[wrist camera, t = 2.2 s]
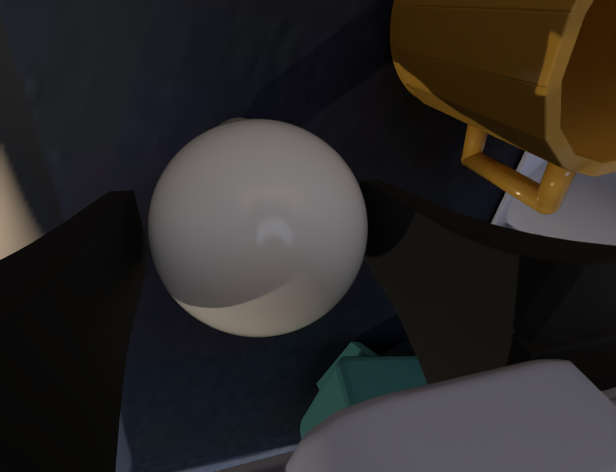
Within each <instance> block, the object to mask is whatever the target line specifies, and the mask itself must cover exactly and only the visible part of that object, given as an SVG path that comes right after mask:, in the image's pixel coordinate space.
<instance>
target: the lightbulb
mask: <svg viewBox="0 0 616 472" xmlns="http://www.w3.org/2000/svg"><path fill="white" fill-rule="evenodd" d="M147 227H148V242H149V248H150V253H151V257H152V260H153V263H154V266H155V269H156V271H157V273H158V276H159V277H160V279H161V281H162V283H163V285H164V286H165V288H166V289H167V291H168V292H169V293H170V295H171V296H172V297H173V298H174V299H175V301H176V302H177V303H178V304H179V305H180V306H181V307H182V308H183V309H185V310H186V311H187V312H188V313H189V314H191V315H192V316H193V317H195V318H196V319H198V320H199V321H201V322H203V323H205V324H206V325H208V326H210V327H213V328H215V329H217V330H220V331H223V332H226V333H230V334H234V335H239V336H246V337H270V336H277V335H282V334H286V333H290V332H293V331H296V330H299V329H301V328H303V327H305V326H307V325H309V324H311V323H313V322H315V321H316V320H318V319H320V318H321V317H322V316H324V315H325V314H326V313H328V312H329V311H330V310H331V309H332V308H333V307H334V306H336V305H337V304H338V302H339V301H340V300H341V299H342V298H343V297H344V296H345V294H346V293H347V292H348V290H349V289H350V287H351V286H352V284H353V282H354V281H355V279H356V277H357V275H358V272H359V270H360V268H361V265H362V262H363V259H364V255H365V251H366V246H367V238H368V218H367V211H366V205H365V201H364V198H363V194H362V191H361V189H360V186H359V184H358V182H357V180H356V178H355V176H354V174H353V173H352V171H351V169H350V168H349V166H348V165H347V164H346V162H345V161H344V160H343V159H342V157H341V156H340V155H339V154H338V153H337V152H336V151H335V150H334V149H333V148H332V147H331V146H330V145H328V144H327V143H326V142H325V141H323V140H322V139H320V138H319V137H318V136H316V135H314V134H313V133H311V132H309V131H307V130H305V129H303V128H301V127H298V126H295V125H293V124H289V123H286V122H282V121H277V120H270V119H245V118H232V119H228V120H226V121H224V122H223V123H221V124H220V125H219V126H216V127H214V128H212V129H210V130H208V131H206V132H204V133H202V134H200V135H199V136H197V137H195V138H194V139H193V140H191V141H190V142H189V143H187V144H186V145H185V146H184V147H183V148H182V149H181V150H180V151H179V152H178V153H177V154H176V155H175V156H174V157H173V158H172V160H171V161H170V162H169V163H168V165H167V166H166V168H165V169H164V171H163V172H162V174H161V176H160V178H159V180H158V182H157V184H156V187H155V189H154V192H153V195H152V198H151V202H150V207H149V212H148V225H147Z"/></svg>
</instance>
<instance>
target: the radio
mask: <svg viewBox="0 0 616 472" xmlns="http://www.w3.org/2000/svg"><path fill="white" fill-rule="evenodd" d="M423 385H427V382H426V379H425V377H424V374H423V372H422V369H421V366H420V364H419V361H418V359H417V356H378V355H377V354H376V353H374V352H373V351H372V350H370V349H369V348H367V347H366V346H365V345H363V344H362V343H361V342H350V344H349V345H348V346H347V347H346V349H345V350H344V351H343V352H342V353H341V355H340V356H339V357H338V358H337V359H336V361H335V362H334V363H333V364H332V366H331V367H330V368H329V369H328V370H327V372H326V373H325V374H324V375H323V376H322V378H321V379H320V380H319V381H318V382H317V386H318V388H319V392H318V394H317V395H316V397H315V399H314V400H313V402H312V404H311V405H310V407H309V409H308V410H307V412H306V414H305V415H304V417H303V419H302V420H301V425H300V432H301V439H302V438H303V436H304V435H305V433H306V432H308V431H309V430H311V429H312V428H314V427H315V426H316V425H318V424H319V423H321V422H322V421H324V420H325V419H327V418H328V417H329V416H331V415H332V414H334V413H335V412H337V411H339V410H341V409H344V408H347V407H350V406H352V405H355V404H358V403H360V402H363V401H366V400H368V399H371V398H374V397H376V396H380V395H384V394H389V393H393V392H397V391H402V390H406V389H410V388H415V387H419V386H423Z"/></svg>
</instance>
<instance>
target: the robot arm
mask: <svg viewBox="0 0 616 472" xmlns="http://www.w3.org/2000/svg"><path fill="white" fill-rule="evenodd" d="M547 163H548V161H546V160H544V159H541V158H539V157H537V156H535V155H533V154H531V153H529V152H526V151H525V152H524V154H523V156H522V159H521V161H520V163H519V165H518V167H517V169H516V171H517V172H519V173H521V174H523V175H525V176H527V177H528V178H530V179H532V180H534V181H536V182H538V183H539V184H540V182H541V179H542V176H543V174H544V171H545V169H546V166H547ZM360 189H361V191H362V194H363V198H364V201H365V205H366V211H367V218H368V238H367V246H366V251H365V255H364V259H365V260H366V262H367V264H368V265H369V267H370V269H371V270H372V272H373V273H374V275H375V277H376V278H377V280H378V281H379V283H380V285H381V286H382V288H383V289H384V291H385V293H386V294H387V296H388V297H389V299H390V301H391V303H392V304H393V306H394V308H395V310H396V312H397V314H398V316H399V318H400V320H401V323H402V325H403V327H404V329H405V331H406V333H407V336H408V338H409V340H410V343H411V345H412V347H413V349H414V352H415V354H416V356H417V359H418V361H419V364H420V366H421V369H422V372H423V374H424V377H425V379H426V382H427V385H423V386H419V387H415V388H410V389H406V390H402V391H397V392H393V393H389V394H384V395H380V396H376V397H374V398H371V399H368V400H366V401H363V402H360V403H358V404H355V405H352V406H350V407H347V408H344V409H341V410H339V411H337V412H335V413H334V414H332V415H331V416H329V417H328V418H327V419H325V420H324V421H322V422H321V423H319V424H318V425H316V426H315V427H314V428H312V429H311V430H309V431H308V432H306V433H305V435H304V436H303V438H302V439H301V441H300V443H299V444H298V446H297V447H296V449H295V451H292V452H288V453H284V454H280V455H276V456H273V457H269V458H265V459H261V460H257V461H253V462H250V463H246V464H242V465H238V466H234V467H230V468H227V469H223V470H219V471H215V472H616V172H613V173H609V174H605V175H601V176H596V177H591V176H587V175H584V174H580V173H577V172H576V174H575V177H574V179H573V181H572V183H571V186H570V188H569V190H568V192H567V195H566V197H565V199H564V201H563V204H562V206H561V208H560V209H559V210H558V211H557V212H555V213H553V214H549V215H545V214H541V213H539V212H537V211H535V210H534V209H532V208H531V207H529V206H527V205H526V204H524V203H523V202H521V201H520V200H518V199H516V198H515V197H513V196H512V195H510V194H508V193H507V192H505V195H504V197H503V199H502V201H501V203H500V205H499V207H498V209H497V212H496V214H495V216H494V218H493V220H492V222H491V223H487V222H484V221H481V220H478V219H475V218H471V217H468V216H465V215H463V214H460V213H457V212H454V211H452V210H449V209H447V208H444V207H442V206H439V205H437V204H434V203H432V202H429V201H427V200H425V199H423V198H420V197H418V196H416V195H413V194H411V193H409V192H407V191H404V190H402V189H400V188H397V187H395V186H393V185H390V184H388V183H385V182H382V181H378V180H368V181H360ZM146 259H147V243H146V239H145V235H144V231H143V227H142V222H141V218H140V214H139V210H138V206H137V202H136V197H135V193H134V190H133V191H111V192H109V193H107V194H105V195H103V196H102V197H100V198H99V199H97V200H96V201H95V202H93V203H92V204H90V205H89V206H87V207H86V208H85V209H83V210H82V211H80V212H79V213H77V214H76V215H75V216H73V217H72V218H70V219H69V220H67V221H66V222H64V223H63V224H61V225H60V226H58V227H57V228H55V229H53V230H52V231H50V232H49V233H47V234H46V235H44V236H42V237H41V238H39V239H37V240H36V241H34V242H33V243H31V244H29V245H28V246H26V247H24V248H22V249H20V250H19V251H17V252H15V253H13V254H11V255H9V256H7V257H5V258H3V259H1V260H0V472H115V470H116V455H117V443H118V442H117V441H118V431H119V419H120V409H121V399H122V389H123V380H124V372H125V364H126V356H127V349H128V344H129V339H130V334H131V330H132V326H133V322H134V318H135V314H136V310H137V306H138V302H139V298H140V294H141V290H142V285H143V281H144V277H145V270H146Z"/></svg>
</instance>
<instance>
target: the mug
mask: <svg viewBox="0 0 616 472" xmlns="http://www.w3.org/2000/svg"><path fill="white" fill-rule="evenodd" d="M390 46H391V54H392V58H393V63H394V66H395V69H396V71H397V74H398V76H399V78H400V80H401V81H402V83H403V85H404V86H405V87H406V88H407V90H408V91H409V92H410V93H411V94H412V95H413V96H415V97H416V98H418V99H419V100H421V101H422V102H423V103H424V104H426V105H428V106H431V107H433V108H435V109H437V110H439V111H441V112H443V113H446V114H448V115H450V116H452V117H454V118H456V119H458V120H460V121H463V122H465V123H467V124H468V126H467V131H466V136H465V141H464V146H463V150H462V155H461V162H462V164H463V165H464V166H466V167H467V168H469V169H471V170H472V171H474V172H475V173H477V174H478V175H480V176H482V177H483V178H485V179H486V180H488V181H489V182H491V183H493V184H494V185H496V186H497V187H499V188H501V189H502V190H504V191H505V192H507V193H508V194H510V195H512V196H513V197H515V198H516V199H518V200H520V201H521V202H523V203H524V204H526V205H527V206H529V207H531V208H532V209H534V210H535V211H537V212H539V213H541V214H545V215H549V214H553V213H555V212H557V211H558V210H559V209H560V208H561V206H562V204H563V201H564V199H565V197H566V195H567V192H568V190H569V188H570V186H571V183H572V181H573V179H574V177H575V174H576V172H577V173H580V174H584V175H587V176H591V177H596V176H601V175H605V174H609V173H613V172H616V0H394V3H393V7H392V12H391V21H390ZM488 134H490V135H492V136H495V137H497V138H499V139H501V140H503V141H505V142H507V143H509V144H512V145H514V146H516V147H518V148H520V149H522V150H524V151H526V152H529V153H531V154H533V155H535V156H537V157H539V158H541V159H544V160H546V161H548V163H547V166H546V169H545V171H544V174H543V176H542V179H541V182H540V184H539V183H538V182H536V181H534V180H532V179H530V178H528V177H527V176H525V175H523V174H521V173H519V172H517V171H516V170H514V169H512V168H510V167H508V166H506V165H505V164H503V163H501V162H499V161H497V160H495V159H494V158H492V157H490V156H488V155H486V154H484V153H483V151H484V147H485V143H486V139H487V135H488Z"/></svg>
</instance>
